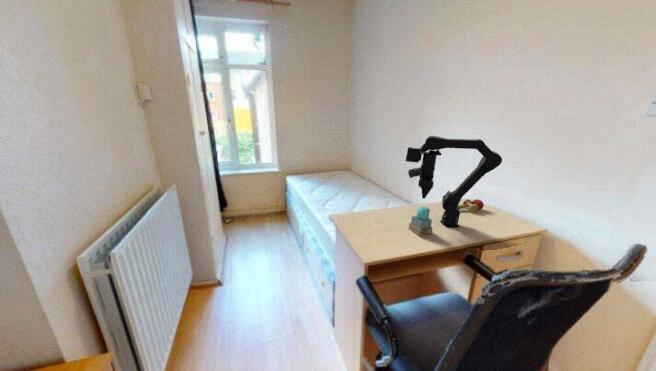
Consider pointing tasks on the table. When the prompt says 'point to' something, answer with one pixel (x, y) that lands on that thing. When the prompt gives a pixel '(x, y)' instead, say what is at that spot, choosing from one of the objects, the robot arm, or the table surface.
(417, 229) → the lower block
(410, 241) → the table surface
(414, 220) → the upper block
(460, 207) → the kendama
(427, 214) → the teal rounded dome
